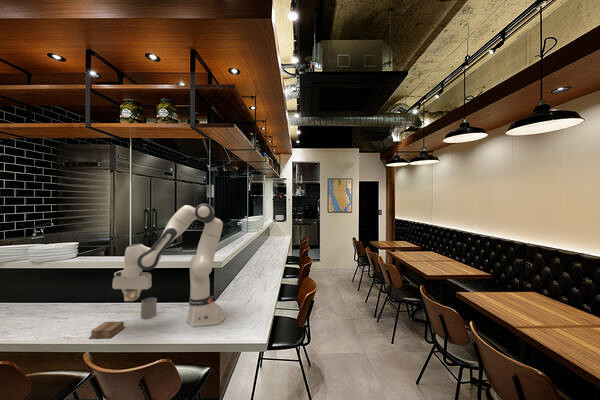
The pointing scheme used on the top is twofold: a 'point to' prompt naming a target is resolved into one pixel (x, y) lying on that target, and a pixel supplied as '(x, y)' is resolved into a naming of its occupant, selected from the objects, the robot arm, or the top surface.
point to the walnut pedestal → (107, 330)
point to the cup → (148, 308)
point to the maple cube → (130, 295)
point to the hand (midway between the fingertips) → (131, 296)
